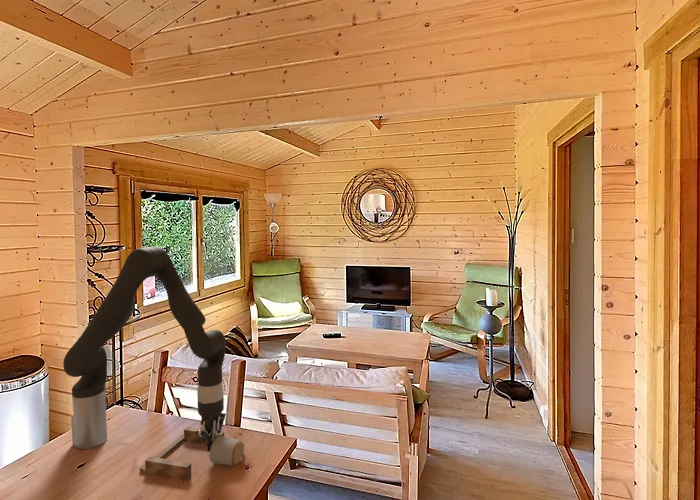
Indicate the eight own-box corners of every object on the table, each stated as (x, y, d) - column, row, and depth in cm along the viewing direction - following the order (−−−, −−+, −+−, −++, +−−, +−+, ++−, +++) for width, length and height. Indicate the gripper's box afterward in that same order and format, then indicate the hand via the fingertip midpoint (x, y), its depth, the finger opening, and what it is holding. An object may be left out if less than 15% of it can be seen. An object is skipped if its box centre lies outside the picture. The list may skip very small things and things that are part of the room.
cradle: (139, 472, 122) (139, 459, 122) (182, 437, 141) (182, 426, 141) (187, 480, 118) (186, 467, 118) (224, 443, 137) (224, 432, 137)
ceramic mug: (233, 471, 122) (233, 446, 122) (209, 468, 124) (208, 443, 123) (250, 452, 132) (250, 429, 132) (227, 449, 134) (226, 426, 134)
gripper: (212, 386, 133) (213, 438, 134) (186, 404, 120) (188, 461, 122) (232, 389, 131) (234, 441, 132) (209, 407, 118) (210, 465, 120)
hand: (212, 450), depth 127 cm, fingers closed
